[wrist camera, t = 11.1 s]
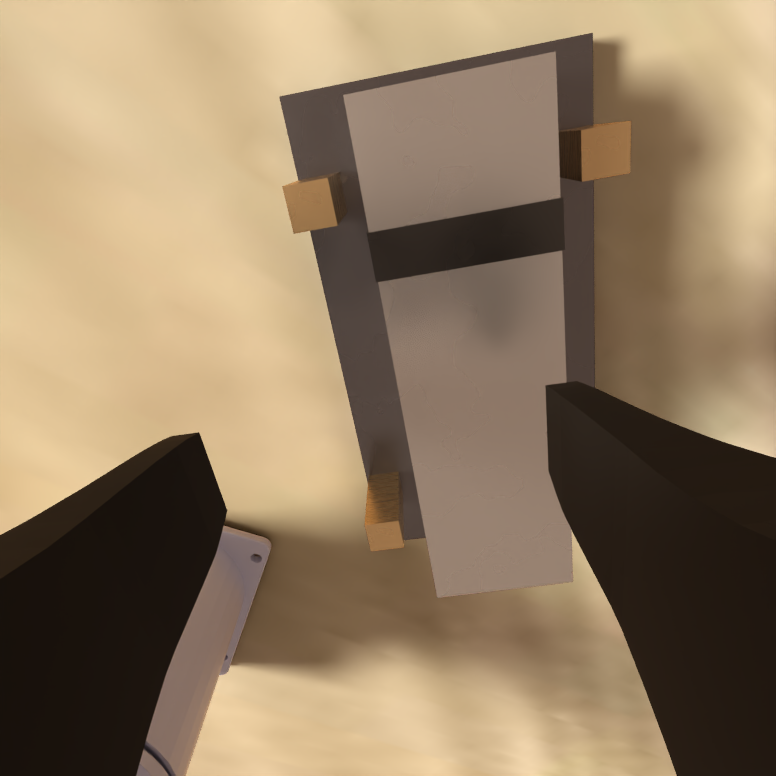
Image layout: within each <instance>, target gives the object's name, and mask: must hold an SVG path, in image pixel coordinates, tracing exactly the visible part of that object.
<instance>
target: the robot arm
mask: <svg viewBox="0 0 776 776" xmlns="http://www.w3.org/2000/svg"><path fill="white" fill-rule="evenodd" d="M545 388H546V416H547V445H548V471H549V474H550V477H551V480H552V483H553V486H554V489H555V492H556V495H557V498H558V500H559V503H560V506H561V509H562V511H563V513H564V516H565V518H566V520H567V522H568V524H569V526H570V527H571V529H572V531H573V533H574V535H575V537H576V539H577V541H578V543H579V545H580V547H581V549H582V551H583V553H584V555H585V557H586V559H587V561H588V562H589V564H590V566H591V568H592V570H593V572H594V574H595V576H596V578H597V580H598V582H599V584H600V586H601V588H602V589H603V591H604V593H605V595H606V597H607V599H608V601H609V603H610V605H611V607H612V609H613V611H614V613H615V616H616V618H617V620H618V622H619V624H620V626H621V629H622V631H623V633H624V636H625V639H626V641H627V644H628V646H629V649H630V651H631V654H632V656H633V659H634V661H635V664H636V667H637V669H638V672H639V674H640V677H641V679H642V682H643V684H644V687H645V690H646V692H647V695H648V698H649V701H650V703H651V706H652V709H653V711H654V714H655V717H656V719H657V722H658V725H659V727H660V730H661V733H662V735H663V738H664V741H665V743H666V746H667V749H668V752H669V755H670V757H671V760H672V763H673V766H674V769H675V772H676V774H677V776H776V458H774V457H770V456H767V455H764V454H760V453H757V452H754V451H750V450H747V449H744V448H741V447H737V446H734V445H731V444H727V443H725V442H722V441H719V440H716V439H713V438H710V437H707V436H705V435H702V434H699V433H697V432H694V431H692V430H689V429H686V428H684V427H681V426H679V425H676V424H674V423H671V422H669V421H666V420H664V419H662V418H659V417H657V416H655V415H652V414H650V413H648V412H646V411H643V410H641V409H639V408H637V407H634V406H632V405H630V404H628V403H626V402H624V401H622V400H619V399H617V398H615V397H613V396H611V395H609V394H607V393H604V392H602V391H600V390H598V389H596V388H594V387H591V386H589V385H586V384H584V383H581V382H578V381H573V382H566V383H559V384H551V385H545ZM226 513H227V509H226V506H225V503H224V501H223V498H222V495H221V492H220V489H219V487H218V484H217V481H216V478H215V475H214V473H213V470H212V467H211V464H210V461H209V459H208V456H207V453H206V450H205V448H204V445H203V442H202V439H201V436H200V434H199V433H192V434H185V435H177V436H171V437H169V438H167V439H164V440H162V441H160V442H158V443H156V444H154V445H152V446H151V447H149V448H147V449H145V450H144V451H142V452H140V453H139V454H137V455H135V456H134V457H132V458H130V459H129V460H127V461H126V462H124V463H122V464H121V465H119V466H118V467H116V468H114V469H113V470H111V471H110V472H108V473H106V474H105V475H103V476H102V477H100V478H98V479H97V480H95V481H94V482H92V483H90V484H89V485H87V486H86V487H84V488H82V489H81V490H79V491H77V492H75V493H74V494H72V495H70V496H69V497H67V498H65V499H64V500H62V501H60V502H59V503H57V504H55V505H53V506H52V507H50V508H48V509H47V510H45V511H43V512H42V513H40V514H38V515H37V516H35V517H33V518H31V519H29V520H28V521H26V522H24V523H22V524H20V525H19V526H17V527H15V528H13V529H11V530H9V531H7V532H5V533H4V534H2V535H0V776H186V773H187V770H188V767H189V764H190V761H191V758H192V755H193V752H194V749H195V746H196V743H197V740H198V737H199V734H200V731H201V728H202V725H203V722H204V719H205V716H206V713H207V710H208V707H209V704H210V701H211V698H212V695H213V692H214V689H215V686H216V683H217V680H218V677H219V675H224V674H226V673H227V672H228V670H229V668H230V665H231V662H232V659H233V656H234V653H235V650H236V648H237V645H238V642H239V639H240V636H241V633H242V631H243V628H244V625H245V622H246V619H247V616H248V613H249V611H250V608H251V605H252V602H253V599H254V596H255V593H256V591H257V588H258V585H259V582H260V579H261V576H262V573H263V571H264V568H265V565H266V562H267V559H268V556H269V554H270V550H271V542H270V541H269V540H268V539H267V538H264V537H262V536H258V535H255V534H251V533H248V532H244V531H241V530H237V529H234V528H230V527H227V526H224V522H225V518H226ZM254 554H258V555H260V557H259V556H255V555H254Z"/></svg>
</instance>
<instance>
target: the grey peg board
mask: <svg viewBox="0 0 776 776" xmlns="http://www.w3.org/2000/svg"><path fill="white" fill-rule="evenodd" d="M555 51H556V73H557V104H558V135H559V166H560V197H563V202H564V235H565V250H562V258H563V289H564V320H565V351H566V382H573V381H578V382H581V383H584V384H586V385H589V386H591V387H594V388H595V347H594V180H595V179H600V178H606V177H611V176H617V175H622V174H628V173H630V150H631V121H624V122H614V123H604V124H594V125H593V33H590V34H585V35H580V36H575V37H570V38H565V39H560V40H555V41H550V42H546V43H541V44H536V45H531V46H526V47H521V48H516V49H511V50H506V51H501V52H496V53H492V54H487V55H482V56H477V57H472V58H467V59H462V60H457V61H452V62H447V63H442V64H438V65H433V66H428V67H423V68H418V69H413V70H408V71H403V72H398V73H393V74H388V75H384V76H379V77H374V78H369V79H364V80H359V81H354V82H349V83H344V84H339V85H334V86H330V87H325V88H320V89H315V90H310V91H305V92H300V93H295V94H290V95H285V96H280V102H281V106H282V110H283V115H284V119H285V123H286V128H287V132H288V136H289V141H290V145H291V150H292V154H293V158H294V163H295V167H296V171H297V176H298V180H299V181H296V182H293V183H290V184H288V185H285V186H282V187H283V191H284V195H285V199H286V203H287V208H288V212H289V216H290V220H291V224H292V228H293V232H294V233H300V232H306V231H310V232H311V237H312V241H313V245H314V250H315V254H316V259H317V263H318V267H319V272H320V276H321V280H322V285H323V289H324V293H325V298H326V302H327V307H328V311H329V315H330V320H331V324H332V328H333V333H334V337H335V341H336V346H337V350H338V355H339V359H340V363H341V368H342V372H343V376H344V381H345V385H346V389H347V394H348V398H349V402H350V407H351V411H352V416H353V420H354V424H355V429H356V433H357V437H358V442H359V446H360V450H361V455H362V459H363V464H364V468H365V472H366V477H367V481H368V491H367V503H366V515H365V529H366V533H367V537H368V541H369V545H370V550H371V551H379V550H387V549H395V548H403V547H404V540H410V539H418V538H426V536H425V530H424V525H423V520H422V514H421V509H420V503H419V498H418V493H417V487H416V482H415V477H414V471H413V466H412V461H411V455H410V450H409V445H408V439H407V434H406V429H405V423H404V418H403V413H402V407H401V402H400V397H399V391H398V386H397V381H396V375H395V370H394V364H393V359H392V354H391V348H390V343H389V338H388V332H387V327H386V322H385V316H384V311H383V306H382V300H381V295H380V290H379V284H378V282H377V283H376V280H375V275H374V269H373V264H372V259H371V254H370V248H369V243H368V238H367V231H368V225H367V220H366V215H365V209H364V204H363V199H362V193H361V188H360V183H359V177H358V172H357V167H356V161H355V156H354V151H353V145H352V140H351V135H350V129H349V124H348V119H347V113H346V108H345V103H344V97H343V95H346V94H351V93H356V92H360V91H365V90H370V89H375V88H380V87H385V86H390V85H395V84H399V83H404V82H409V81H414V80H419V79H424V78H429V77H433V76H438V75H443V74H448V73H453V72H458V71H463V70H467V69H472V68H477V67H482V66H487V65H492V64H497V63H502V62H506V61H511V60H516V59H521V58H526V57H531V56H536V55H540V54H545V53H550V52H555Z"/></svg>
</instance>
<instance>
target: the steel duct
mask: <svg viewBox="0 0 776 776" xmlns="http://www.w3.org/2000/svg"><path fill="white" fill-rule="evenodd" d="M343 97H344V103H345V108H346V113H347V119H348V124H349V129H350V135H351V140H352V145H353V151H354V156H355V161H356V167H357V172H358V177H359V183H360V188H361V193H362V199H363V204H364V209H365V215H366V220H367V225H368V231H367V238H368V243H369V248H370V254H371V259H372V264H373V269H374V275H375V280H376V283H377V282H378V284H379V290H380V295H381V300H382V306H383V311H384V316H385V322H386V327H387V332H388V338H389V343H390V348H391V354H392V359H393V364H394V370H395V375H396V381H397V386H398V391H399V397H400V402H401V407H402V413H403V418H404V423H405V429H406V434H407V439H408V445H409V450H410V455H411V461H412V466H413V471H414V477H415V482H416V487H417V493H418V498H419V503H420V509H421V514H422V520H423V525H424V530H425V536H426V541H427V546H428V552H429V557H430V562H431V568H432V573H433V578H434V584H435V589H436V594H437V598H441V597H449V596H458V595H466V594H475V593H483V592H492V591H500V590H509V589H518V588H526V587H535V586H543V585H552V584H560V583H569V582H573V566H572V536H571V527H570V526H569V524H568V522H567V520H566V518H565V516H564V513H563V511H562V509H561V506H560V503H559V500H558V498H557V495H556V492H555V489H554V486H553V483H552V480H551V477H550V474H549V471H548V445H547V416H546V388H545V385H551V384H559V383H566V351H565V320H564V289H563V258H562V250H565V235H564V202H563V197H560V166H559V135H558V104H557V73H556V51H555V52H550V53H545V54H540V55H536V56H531V57H526V58H521V59H516V60H511V61H506V62H502V63H497V64H492V65H487V66H482V67H477V68H472V69H467V70H463V71H458V72H453V73H448V74H443V75H438V76H433V77H429V78H424V79H419V80H414V81H409V82H404V83H399V84H395V85H390V86H385V87H380V88H375V89H370V90H365V91H360V92H356V93H351V94H346V95H343Z"/></svg>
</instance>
